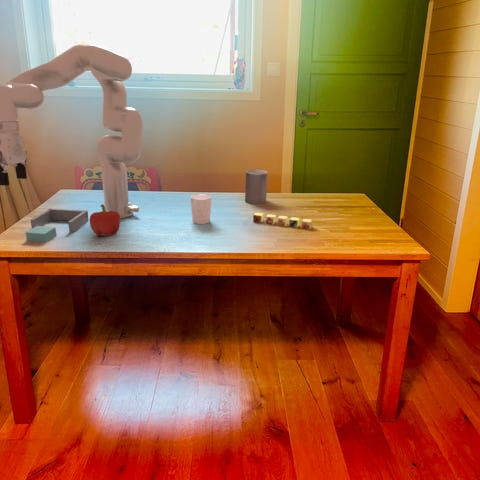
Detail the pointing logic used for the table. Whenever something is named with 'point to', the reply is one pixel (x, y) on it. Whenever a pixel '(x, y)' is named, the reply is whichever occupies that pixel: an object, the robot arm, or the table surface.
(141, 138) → the robot arm
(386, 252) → the table surface
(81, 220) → the box
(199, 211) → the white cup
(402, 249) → the table surface
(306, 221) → the row of toy blocks
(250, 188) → the pillar candle
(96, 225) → the vegetable
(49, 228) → the teal square block
